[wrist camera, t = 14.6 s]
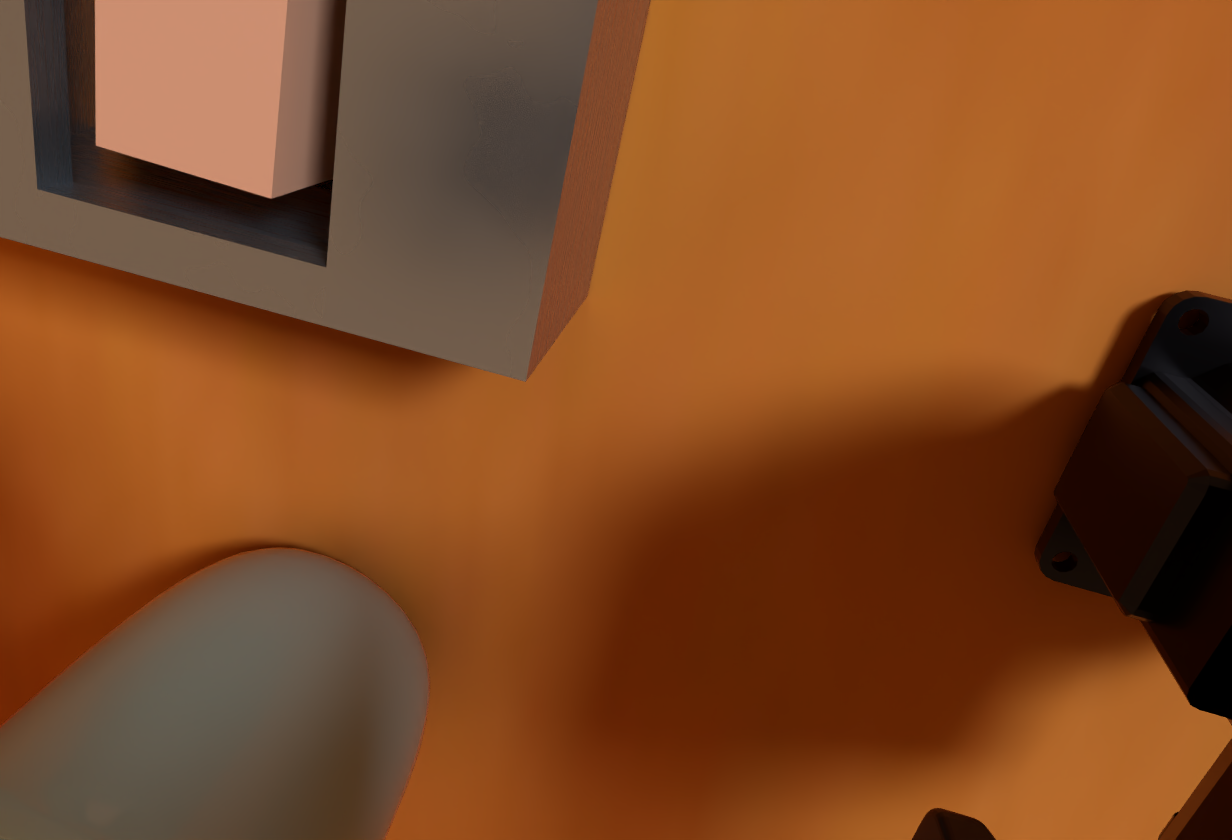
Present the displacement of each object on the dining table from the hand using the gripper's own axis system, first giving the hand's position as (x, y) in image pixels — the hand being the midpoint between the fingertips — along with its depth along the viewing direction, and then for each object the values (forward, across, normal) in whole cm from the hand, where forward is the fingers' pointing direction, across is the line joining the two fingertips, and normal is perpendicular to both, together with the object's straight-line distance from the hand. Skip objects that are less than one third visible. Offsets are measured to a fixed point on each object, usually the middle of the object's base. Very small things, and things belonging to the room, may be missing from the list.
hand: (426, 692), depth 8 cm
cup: (+12, +6, +11) cm, 17 cm away
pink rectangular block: (+10, +7, -4) cm, 13 cm away
